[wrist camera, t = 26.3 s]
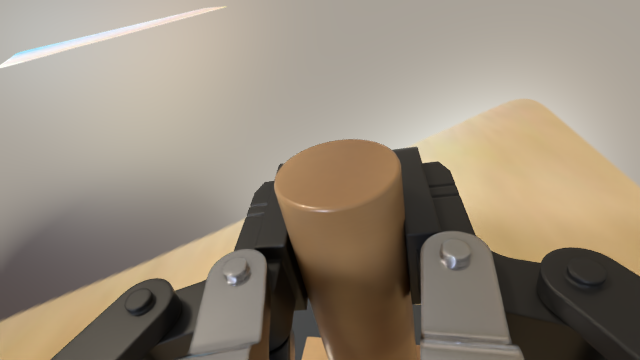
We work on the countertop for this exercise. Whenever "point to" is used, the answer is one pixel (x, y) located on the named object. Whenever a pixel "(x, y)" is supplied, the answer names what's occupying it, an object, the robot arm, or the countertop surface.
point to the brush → (351, 249)
